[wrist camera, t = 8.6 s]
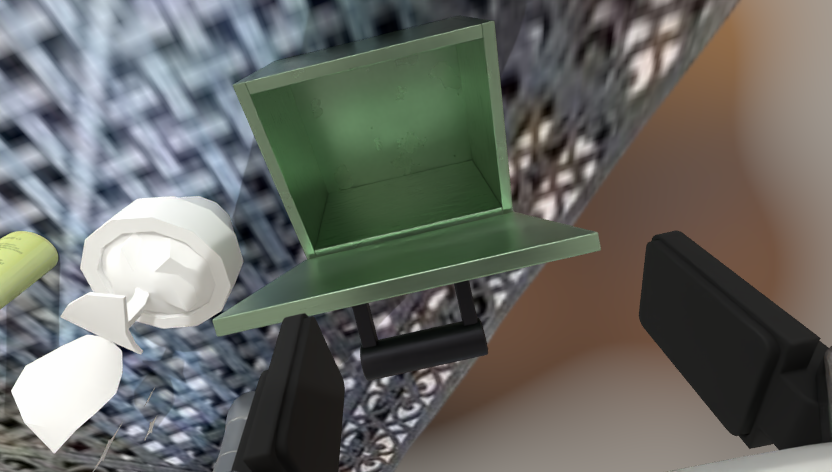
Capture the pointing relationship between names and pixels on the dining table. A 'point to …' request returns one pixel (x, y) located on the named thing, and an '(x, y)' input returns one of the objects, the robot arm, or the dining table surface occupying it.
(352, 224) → the green storage bin
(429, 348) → the bin lid
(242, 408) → the plastic bottle
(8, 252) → the tube
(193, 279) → the potted plant
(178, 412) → the dining table surface
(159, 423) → the dining table surface
